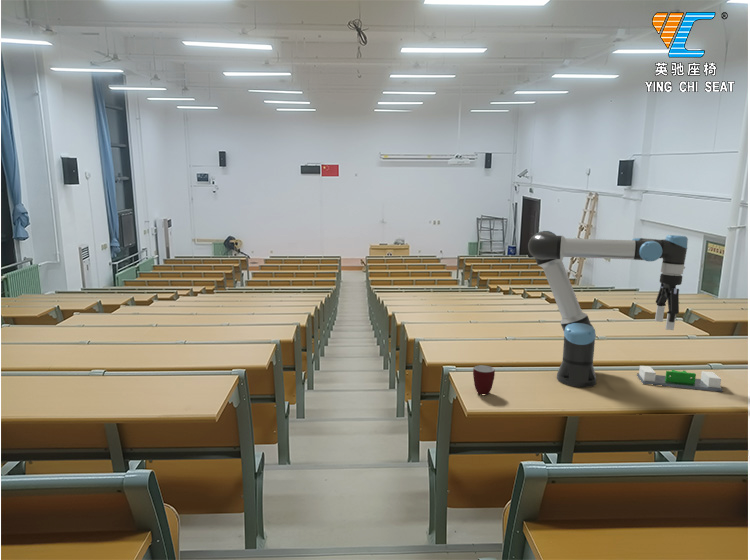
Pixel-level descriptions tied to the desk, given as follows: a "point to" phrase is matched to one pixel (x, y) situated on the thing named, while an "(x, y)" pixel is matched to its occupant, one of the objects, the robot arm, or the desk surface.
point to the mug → (483, 378)
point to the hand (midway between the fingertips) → (663, 325)
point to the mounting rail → (706, 382)
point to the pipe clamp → (680, 377)
